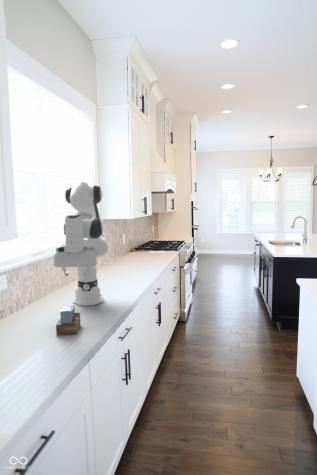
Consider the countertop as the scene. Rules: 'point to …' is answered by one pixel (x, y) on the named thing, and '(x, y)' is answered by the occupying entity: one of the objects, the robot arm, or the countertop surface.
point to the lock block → (67, 314)
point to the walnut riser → (69, 326)
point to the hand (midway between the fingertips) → (76, 275)
